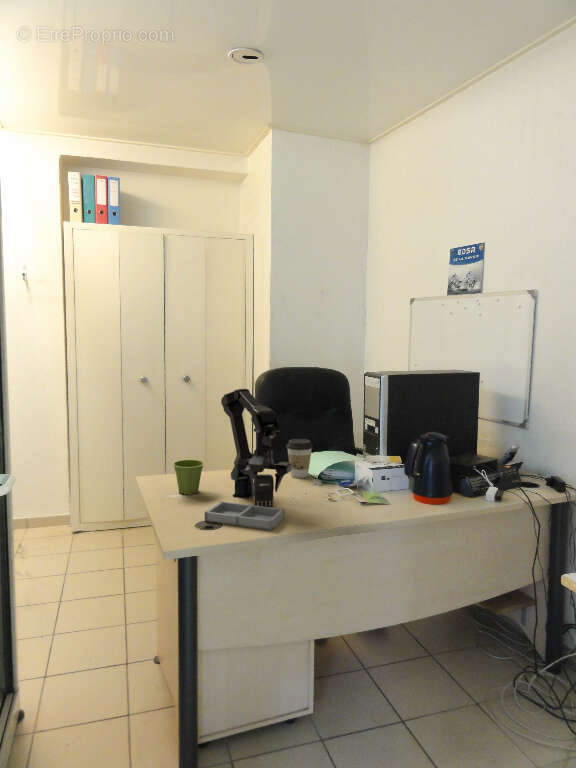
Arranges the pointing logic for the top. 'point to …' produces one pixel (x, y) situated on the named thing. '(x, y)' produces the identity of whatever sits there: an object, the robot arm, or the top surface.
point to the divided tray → (245, 515)
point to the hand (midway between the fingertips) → (263, 490)
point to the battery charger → (263, 490)
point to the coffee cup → (299, 457)
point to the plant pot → (188, 475)
